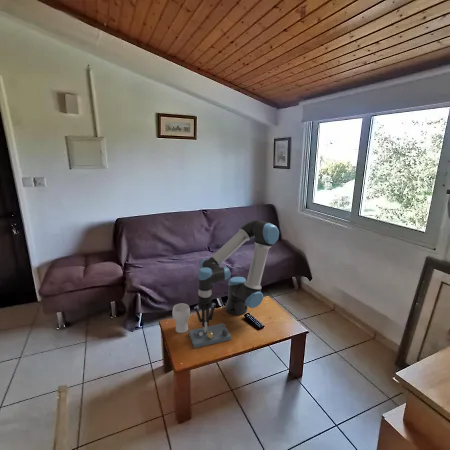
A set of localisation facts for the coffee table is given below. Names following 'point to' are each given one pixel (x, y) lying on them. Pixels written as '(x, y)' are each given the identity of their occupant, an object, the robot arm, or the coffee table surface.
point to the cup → (181, 317)
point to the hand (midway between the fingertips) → (205, 330)
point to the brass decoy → (210, 335)
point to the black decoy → (224, 332)
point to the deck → (203, 340)
